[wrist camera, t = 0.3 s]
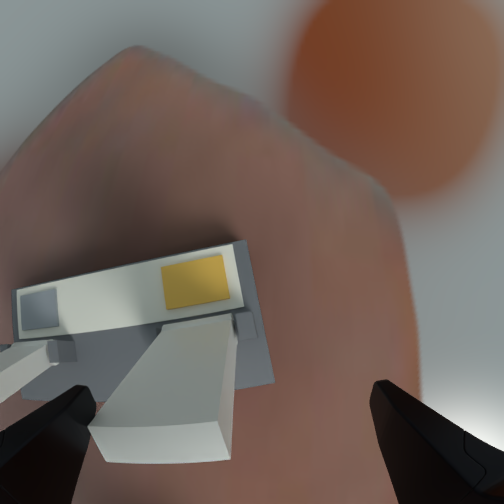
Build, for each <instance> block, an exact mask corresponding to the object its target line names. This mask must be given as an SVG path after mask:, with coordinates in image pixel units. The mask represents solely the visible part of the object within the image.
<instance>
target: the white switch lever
mask: <svg viewBox="0 0 504 504" xmlns="http://www.w3.org/2000/svg"><path fill="white" fill-rule="evenodd" d="M237 344H238V340H237V333H236V328H235V323H234V319H233V316H232V313H229V314H224V315H218V316H213V317H207V318H202V319H196V320H190V321H184V322H178V323H172V324H166V325H163V326H162V330H161V332H160V334H159V335H158V336H157V337H156V339H155V340H154V341H153V342H152V344H151V345H150V346H149V348H148V349H147V350H146V351H145V353H144V354H143V355H142V356H141V358H140V359H139V360H138V361H137V363H136V364H135V365H134V366H133V368H132V369H131V370H130V372H129V373H128V374H127V375H126V377H125V378H124V379H123V381H122V382H121V383H120V384H119V386H118V387H117V388H116V390H115V391H114V392H113V393H112V395H111V396H110V397H109V399H108V400H107V401H106V402H105V404H104V405H103V406H102V408H101V409H100V410H99V411H98V413H97V414H96V415H95V417H94V419H93V420H92V421H91V422H90V424H89V425H88V429H89V431H90V433H91V435H92V437H93V439H94V441H95V442H96V444H97V446H98V448H99V450H100V452H101V453H102V455H103V457H104V459H105V460H106V462H117V463H141V464H169V463H194V462H208V461H219V460H229V459H231V442H232V422H233V403H234V385H235V367H236V349H237Z"/></svg>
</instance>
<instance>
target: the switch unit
mask: <svg viewBox="0 0 504 504" xmlns="http://www.w3.org/2000/svg"><path fill="white" fill-rule="evenodd" d="M229 313H232V316H233V319H234V323H235V328H236V333H237V340H238V344H237V349H236V367H235V385H234V390H237V389H243V388H249V387H255V386H260V385H265V384H270V383H275V379H274V375H273V370H272V365H271V360H270V355H269V350H268V345H267V340H266V335H265V330H264V326H263V321H262V316H261V311H260V306H259V301H258V296H257V291H256V286H255V281H254V276H253V271H252V266H251V261H250V256H249V251H248V246H247V241H246V240H241V241H236V242H231V243H226V244H221V245H216V246H211V247H206V248H201V249H196V250H192V251H187V252H182V253H177V254H172V255H168V256H163V257H158V258H153V259H149V260H144V261H139V262H135V263H130V264H125V265H121V266H116V267H111V268H107V269H102V270H97V271H93V272H88V273H84V274H79V275H75V276H70V277H66V278H61V279H57V280H52V281H48V282H43V283H39V284H35V285H30V286H26V287H22V288H17V289H13V290H12V320H13V335H14V343H15V342H27V341H39V340H49V339H53V341H47V345H48V353H49V361H50V363H59V364H58V365H53V366H51V367H49V368H48V369H47V370H45V371H44V372H42V373H41V374H40V375H38V376H37V377H36V378H34V379H33V380H31V381H30V382H29V383H27V384H26V385H25V386H23V387H22V388H21V394H22V399H27V400H41V401H51V400H53V399H54V398H56V397H57V396H59V395H61V394H62V393H64V392H65V391H67V390H68V389H70V388H72V387H73V386H75V385H77V384H80V385H86V386H88V387H89V389H90V391H91V393H92V395H93V398H94V400H95V402H106V401H107V400H108V399H109V397H110V396H111V395H112V393H113V392H114V391H115V390H116V388H117V387H118V386H119V384H120V383H121V382H122V381H123V379H124V378H125V377H126V375H127V374H128V373H129V372H130V370H131V369H132V368H133V366H134V365H135V364H136V363H137V361H138V360H139V359H140V358H141V356H142V355H143V354H144V353H145V351H146V350H147V349H148V348H149V346H150V345H151V344H152V342H153V341H154V340H155V339H156V337H157V336H158V335H159V334H160V332H161V330H162V326H163V325H166V324H172V323H178V322H184V321H190V320H196V319H202V318H207V317H213V316H218V315H224V314H229ZM10 347H11V345H9V344H4V345H0V350H1V352H3V351H4V350H6V349H8V348H10Z"/></svg>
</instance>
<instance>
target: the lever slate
mask: <svg viewBox="0 0 504 504" xmlns="http://www.w3.org/2000/svg"><path fill="white" fill-rule="evenodd" d="M47 341H53V339H49V340H39V341H27V342H15V343H13V344H12V345H11V347H10V348H8V349H6V350H4V351H3V352H1V353H0V403H2V402H3V401H4V400H6V399H7V398H8V397H10V396H11V395H12V394H14V393H15V392H16V391H18V390H19V389H21V388H22V387H23V386H25V385H26V384H27V383H29V382H30V381H31V380H33V379H34V378H36V377H37V376H38V375H40V374H41V373H42V372H44V371H45V370H47V369H48V368H49V367H51V366H53V365H58V364H59V363H50V361H49V353H48V345H47Z"/></svg>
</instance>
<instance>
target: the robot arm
mask: <svg viewBox="0 0 504 504" xmlns="http://www.w3.org/2000/svg"><path fill="white" fill-rule="evenodd" d="M370 409H371V413H372V417H373V422H374V426H375V431H376V435H377V439H378V444H379V447H380V450H381V453H382V456H383V458H384V461H385V464H386V467H387V470H388V473H389V476H390V479H391V482H392V485H393V488H394V491H395V494H396V497H397V500H398V503H399V504H504V452H503V451H501V450H499V449H497V448H495V447H493V446H491V445H489V444H487V443H485V442H483V441H482V440H480V439H478V438H477V437H475V436H473V435H472V434H470V433H468V432H467V431H464V430H463V429H462V428H460V427H459V426H457V425H456V424H454V423H453V422H451V421H450V420H448V419H446V418H445V417H443V416H442V415H440V414H439V413H437V412H436V411H434V410H433V409H431V408H430V407H428V406H427V405H425V404H423V403H422V402H420V401H419V400H417V399H416V398H414V397H413V396H411V395H410V394H408V393H407V392H405V391H404V390H402V389H401V388H399V387H398V386H396V385H395V384H393V383H392V382H390V381H389V380H386V379H385V380H379V381H376V382H375V383H374V385H373V389H372V393H371V396H370ZM95 413H96V402H95V400H94V398H93V395H92V393H91V391H90V389H89V387H88V386H86V385H80V384H77V385H75V386H73V387H72V388H70V389H68V390H67V391H65V392H64V393H62V394H61V395H59V396H57V397H56V398H54V399H53V400H51V401H49V402H48V403H46V404H45V405H43V406H41V407H40V408H38V409H37V410H35V411H33V412H32V413H30V414H29V415H27V416H25V417H24V418H22V419H21V420H19V421H17V422H16V423H14V424H12V425H11V426H9V427H8V428H6V429H5V430H3V431H1V432H0V504H71V502H72V498H73V494H74V491H75V487H76V484H77V480H78V477H79V474H80V470H81V467H82V464H83V461H84V457H85V454H86V451H87V448H88V444H89V440H90V436H91V433H90V431H89V429H88V425H89V424H90V422H91V421H92V420H93V419H94V417H95Z"/></svg>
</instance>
